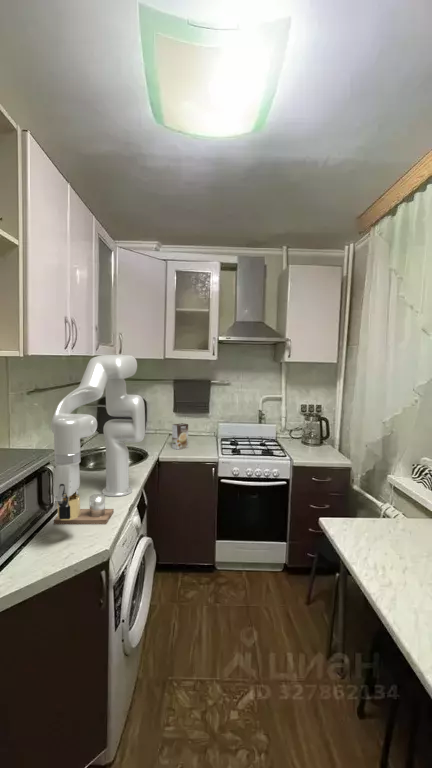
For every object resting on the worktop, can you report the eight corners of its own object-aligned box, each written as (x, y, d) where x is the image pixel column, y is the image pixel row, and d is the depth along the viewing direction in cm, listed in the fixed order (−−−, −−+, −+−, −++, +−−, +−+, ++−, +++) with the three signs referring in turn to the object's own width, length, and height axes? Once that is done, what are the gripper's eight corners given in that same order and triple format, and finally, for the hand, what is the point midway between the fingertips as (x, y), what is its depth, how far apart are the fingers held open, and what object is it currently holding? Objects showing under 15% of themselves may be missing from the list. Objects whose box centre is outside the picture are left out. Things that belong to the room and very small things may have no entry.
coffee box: (177, 449, 243) (177, 425, 243) (171, 448, 248) (171, 424, 247) (188, 447, 250) (188, 424, 249) (182, 446, 254) (182, 423, 254)
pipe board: (64, 512, 137) (64, 508, 137) (113, 512, 137) (113, 508, 137) (53, 524, 127) (53, 520, 127) (106, 524, 127) (106, 520, 127)
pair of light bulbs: (70, 511, 135) (70, 492, 134) (106, 511, 135) (106, 492, 135) (64, 517, 129) (64, 497, 129) (102, 517, 130) (102, 497, 129)
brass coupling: (63, 512, 120) (62, 493, 119) (82, 511, 120) (81, 493, 119) (55, 520, 114) (54, 501, 113) (75, 520, 114) (75, 501, 113)
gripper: (66, 450, 124) (67, 503, 125) (43, 466, 107) (45, 526, 108) (88, 450, 124) (89, 503, 125) (69, 466, 107) (71, 526, 108)
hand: (69, 513), depth 117 cm, fingers closed on brass coupling, 6 cm apart
